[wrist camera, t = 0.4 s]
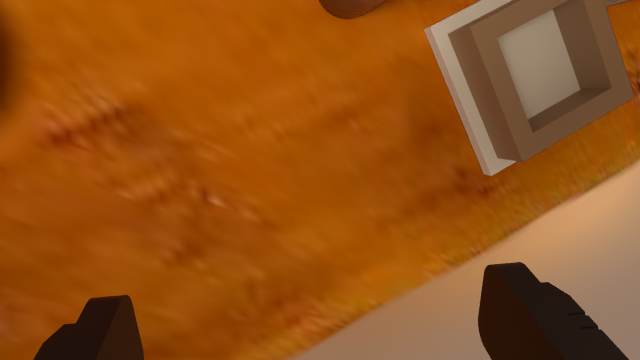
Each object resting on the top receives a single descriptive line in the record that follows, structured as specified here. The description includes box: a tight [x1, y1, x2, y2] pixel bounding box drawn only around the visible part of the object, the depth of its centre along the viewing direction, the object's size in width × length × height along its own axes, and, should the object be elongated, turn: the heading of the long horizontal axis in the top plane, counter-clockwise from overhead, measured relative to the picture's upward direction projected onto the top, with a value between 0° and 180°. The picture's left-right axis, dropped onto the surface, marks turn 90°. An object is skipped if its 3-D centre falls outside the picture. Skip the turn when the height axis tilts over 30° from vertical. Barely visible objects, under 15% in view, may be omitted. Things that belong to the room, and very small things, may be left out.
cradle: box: [424, 0, 634, 176], centre depth 35 cm, size 12×12×4 cm
